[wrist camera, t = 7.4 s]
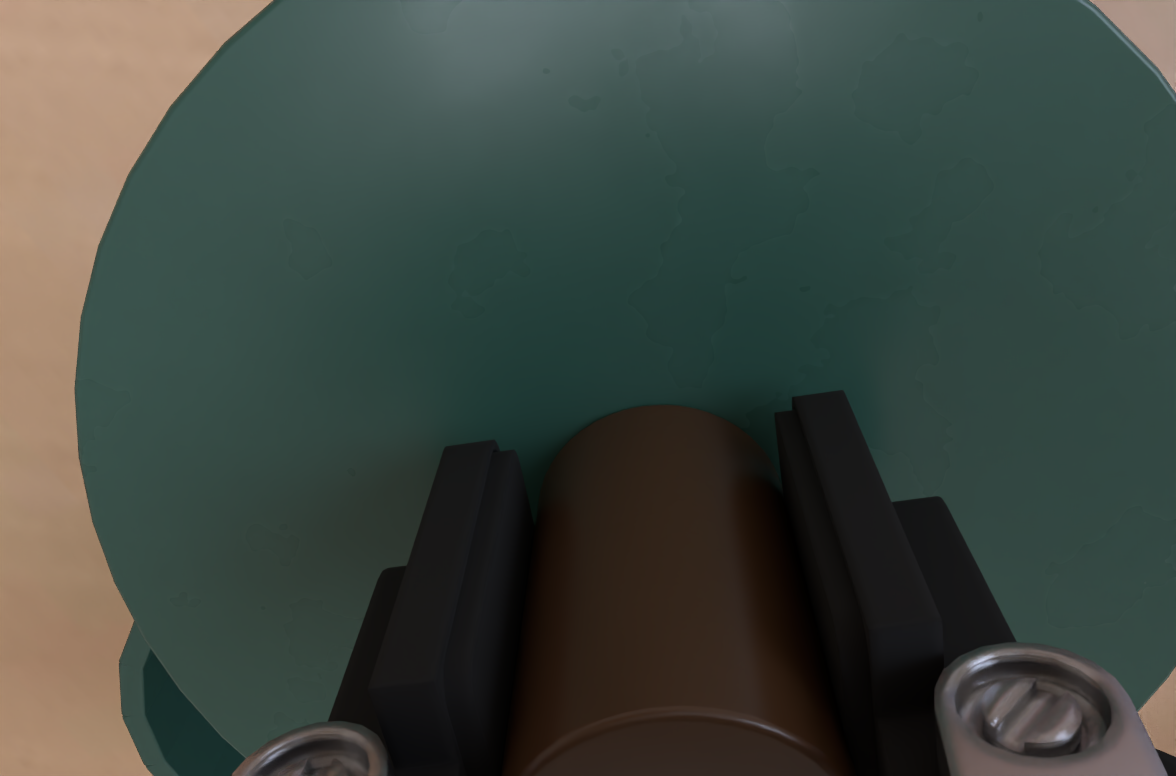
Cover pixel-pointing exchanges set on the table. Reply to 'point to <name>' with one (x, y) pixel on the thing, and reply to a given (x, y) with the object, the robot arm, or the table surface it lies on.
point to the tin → (167, 719)
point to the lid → (635, 344)
